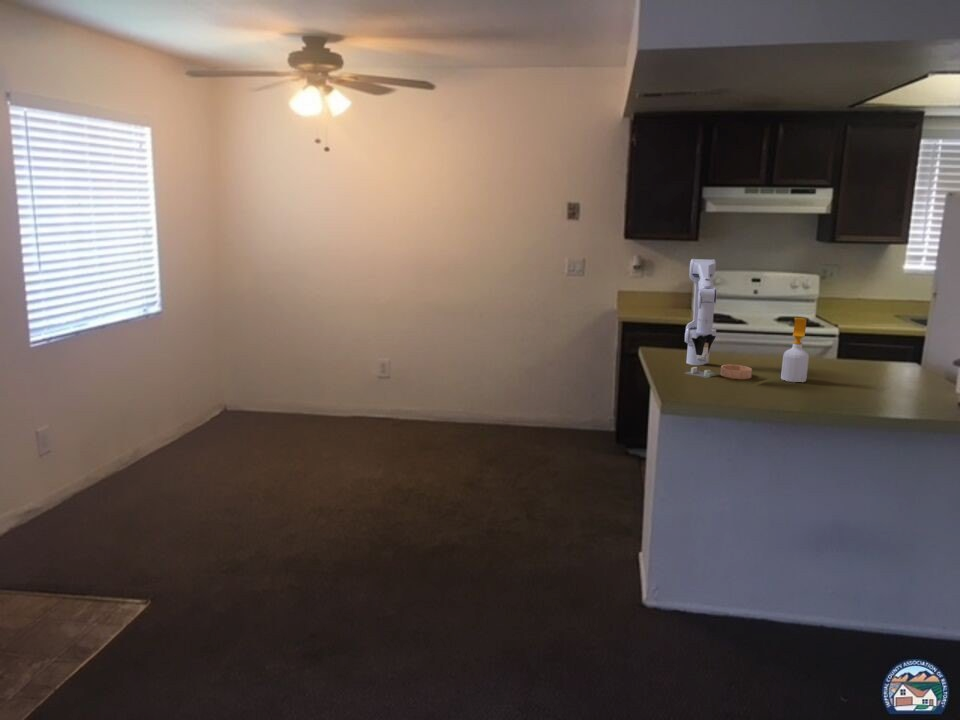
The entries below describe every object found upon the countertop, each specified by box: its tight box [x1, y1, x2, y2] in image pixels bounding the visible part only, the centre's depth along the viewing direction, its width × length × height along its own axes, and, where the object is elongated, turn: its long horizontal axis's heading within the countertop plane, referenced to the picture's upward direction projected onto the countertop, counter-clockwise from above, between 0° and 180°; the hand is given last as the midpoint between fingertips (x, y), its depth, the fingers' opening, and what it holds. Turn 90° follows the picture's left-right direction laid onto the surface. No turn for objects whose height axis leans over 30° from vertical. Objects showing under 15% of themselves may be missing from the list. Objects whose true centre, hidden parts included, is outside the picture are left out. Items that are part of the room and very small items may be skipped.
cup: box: [720, 364, 753, 380], centre depth 281 cm, size 11×11×4 cm
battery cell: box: [696, 342, 709, 362], centre depth 281 cm, size 4×4×7 cm
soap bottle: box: [780, 317, 810, 383], centre depth 278 cm, size 9×9×25 cm
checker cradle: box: [684, 366, 717, 379], centre depth 283 cm, size 8×10×3 cm
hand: (702, 354), depth 281 cm, fingers closed on battery cell, 4 cm apart
